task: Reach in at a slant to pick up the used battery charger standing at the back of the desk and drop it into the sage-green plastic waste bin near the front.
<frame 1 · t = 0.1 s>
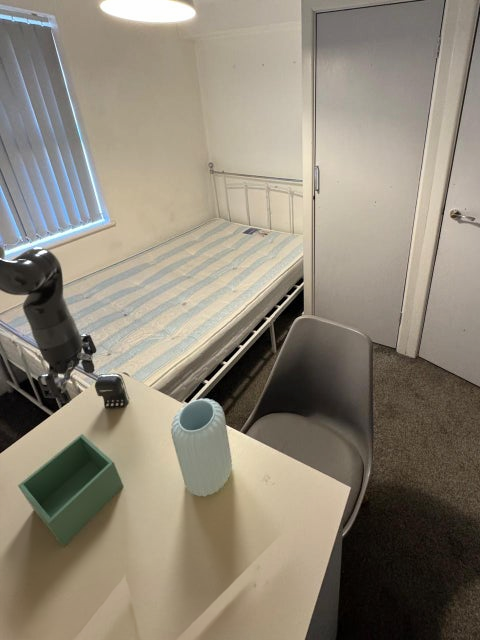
hand: (78, 386, 78), 22 cm above the table, tool pointing down, fingers open, 8 cm apart
bin: (79, 497, 75), on the table
vase: (209, 475, 80), on the table
battery charger: (116, 405, 98), on the table
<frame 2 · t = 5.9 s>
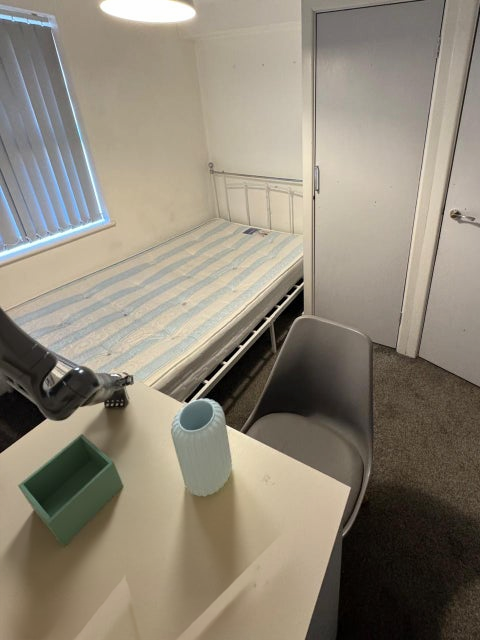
hand: (111, 386, 96), 7 cm above the table, tool tilted 45°, fingers closed on battery charger, 7 cm apart
battery charger: (116, 405, 98), on the table, touching gripper
everything else where it was.
when the fingers open (17 cm above the table, at t = 14.5 s): battery charger drops 10 cm, resting on bin.
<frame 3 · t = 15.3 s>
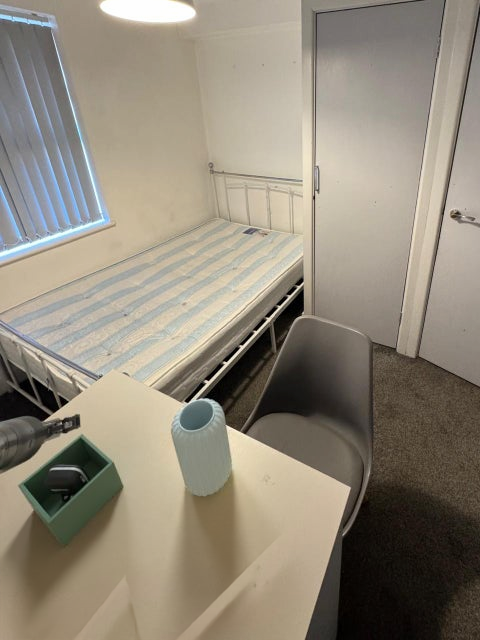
hand: (49, 429, 67), 23 cm above the table, tool tilted 45°, fingers open, 8 cm apart
battery charger: (78, 497, 75), point 1 cm above the table, touching bin
everything else where it was.
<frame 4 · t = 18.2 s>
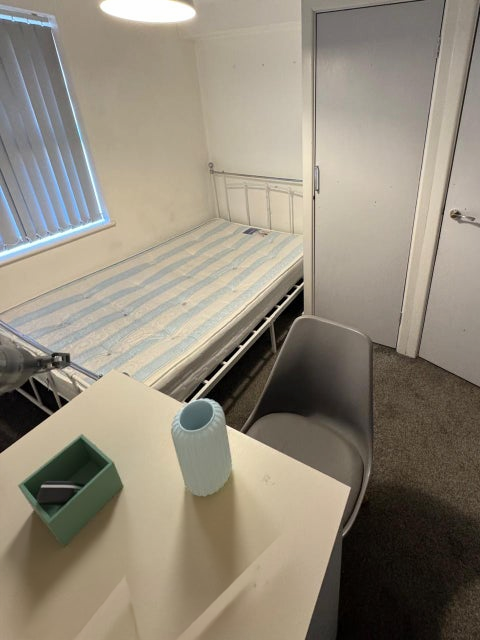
hand: (40, 369, 69), 33 cm above the table, tool tilted 45°, fingers open, 8 cm apart
at the end: battery charger inside the target area in the bin (0.2 cm from its centre), point 0.9 cm above the bin's base; the gripper is holding nothing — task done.
